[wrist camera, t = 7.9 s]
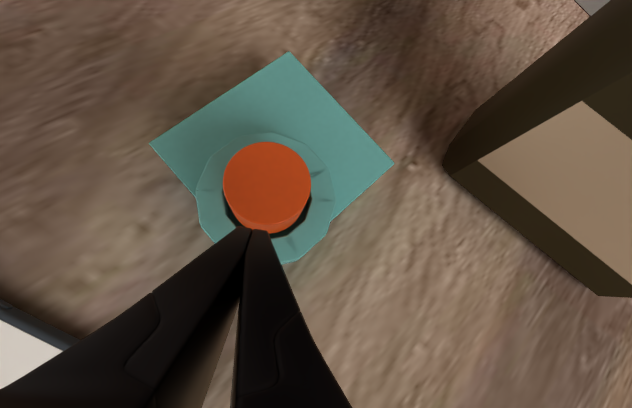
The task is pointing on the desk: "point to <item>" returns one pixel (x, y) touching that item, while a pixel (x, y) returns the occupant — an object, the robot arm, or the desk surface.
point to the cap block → (279, 127)
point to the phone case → (26, 343)
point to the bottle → (563, 152)
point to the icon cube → (591, 5)
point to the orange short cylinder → (266, 186)
